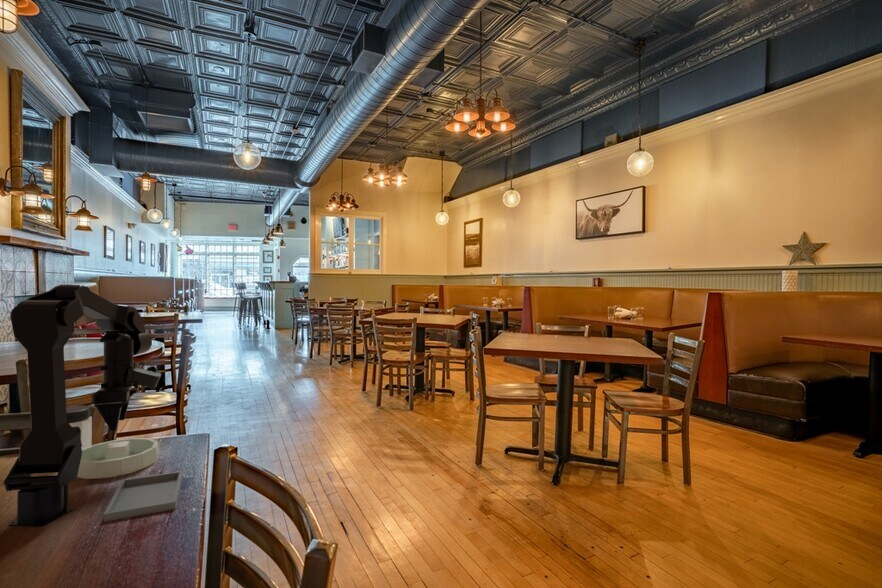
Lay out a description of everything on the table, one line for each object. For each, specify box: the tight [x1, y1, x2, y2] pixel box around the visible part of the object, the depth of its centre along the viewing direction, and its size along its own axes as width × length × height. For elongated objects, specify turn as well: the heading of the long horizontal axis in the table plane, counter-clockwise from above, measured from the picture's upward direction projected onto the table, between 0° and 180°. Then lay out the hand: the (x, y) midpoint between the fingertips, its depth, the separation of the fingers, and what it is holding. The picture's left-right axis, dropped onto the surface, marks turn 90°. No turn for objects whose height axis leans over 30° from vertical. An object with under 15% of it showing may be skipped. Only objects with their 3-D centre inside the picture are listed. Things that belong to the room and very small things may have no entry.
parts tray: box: [103, 470, 184, 523], centre depth 87 cm, size 16×11×2 cm
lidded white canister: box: [66, 405, 93, 449], centre depth 108 cm, size 9×8×12 cm
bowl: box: [77, 437, 159, 480], centre depth 104 cm, size 16×16×4 cm
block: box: [105, 441, 130, 460], centre depth 104 cm, size 4×4×5 cm
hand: (117, 425), depth 104 cm, fingers open, 9 cm apart
